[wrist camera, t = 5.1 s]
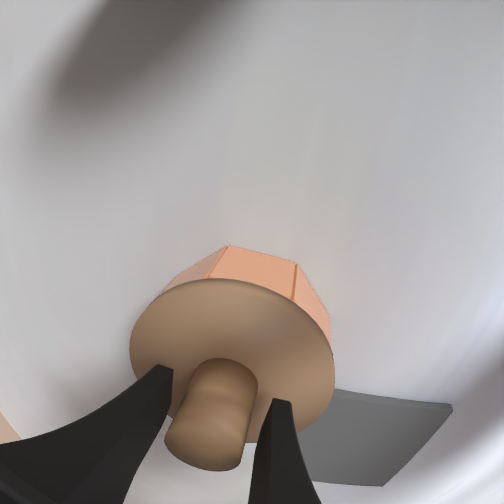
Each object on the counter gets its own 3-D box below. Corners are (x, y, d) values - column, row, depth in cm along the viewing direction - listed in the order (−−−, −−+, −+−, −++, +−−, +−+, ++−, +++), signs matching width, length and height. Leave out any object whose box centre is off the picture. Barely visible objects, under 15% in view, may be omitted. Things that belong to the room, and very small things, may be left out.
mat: (450, 404, 16) (453, 410, 15) (382, 480, 20) (382, 486, 19) (305, 382, 17) (305, 390, 16) (264, 466, 21) (263, 472, 20)
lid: (377, 344, 12) (396, 433, 7) (269, 449, 15) (256, 518, 11) (173, 236, 11) (107, 294, 7) (121, 377, 15) (79, 437, 11)
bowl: (344, 274, 14) (352, 312, 11) (298, 391, 17) (294, 434, 14) (181, 233, 15) (151, 259, 12) (169, 356, 18) (147, 393, 15)
